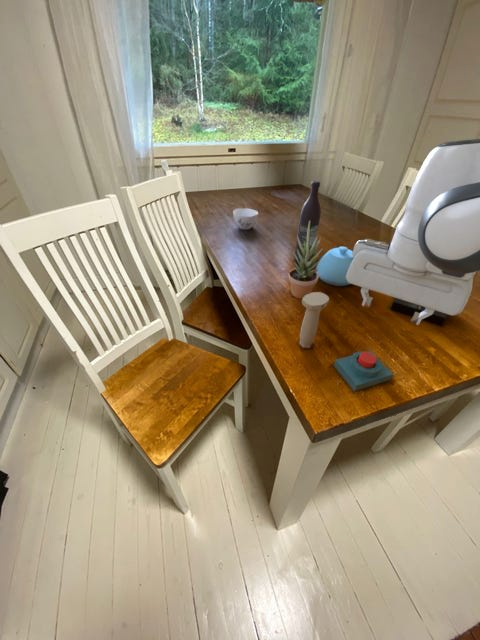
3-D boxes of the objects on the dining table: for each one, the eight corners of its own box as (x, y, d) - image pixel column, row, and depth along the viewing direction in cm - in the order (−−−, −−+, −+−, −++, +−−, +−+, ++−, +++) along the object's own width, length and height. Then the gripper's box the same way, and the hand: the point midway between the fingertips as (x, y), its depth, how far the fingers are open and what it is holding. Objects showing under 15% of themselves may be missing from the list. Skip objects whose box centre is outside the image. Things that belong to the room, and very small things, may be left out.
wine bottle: (291, 265, 108) (303, 182, 89) (296, 257, 113) (308, 178, 94) (308, 268, 106) (324, 184, 87) (312, 261, 111) (328, 180, 92)
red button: (366, 355, 65) (369, 350, 64) (377, 366, 62) (379, 361, 61) (354, 359, 64) (356, 353, 63) (364, 370, 61) (366, 365, 60)
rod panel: (444, 308, 86) (449, 300, 84) (441, 326, 79) (446, 317, 77) (397, 293, 93) (400, 286, 91) (390, 309, 86) (393, 301, 84)
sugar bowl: (330, 264, 109) (336, 235, 102) (364, 278, 100) (374, 248, 93) (307, 276, 101) (312, 246, 94) (342, 292, 93) (351, 262, 85)
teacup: (253, 233, 133) (254, 217, 128) (229, 230, 136) (229, 214, 131) (261, 223, 145) (262, 207, 140) (239, 220, 148) (239, 205, 142)
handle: (320, 345, 72) (333, 299, 63) (302, 355, 70) (313, 308, 60) (307, 335, 76) (318, 289, 66) (290, 344, 73) (298, 297, 63)
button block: (367, 356, 70) (372, 345, 67) (390, 380, 64) (396, 368, 61) (333, 365, 67) (337, 354, 64) (354, 391, 61) (359, 380, 59)
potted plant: (291, 283, 97) (302, 212, 82) (317, 290, 94) (334, 217, 78) (281, 297, 90) (291, 222, 75) (309, 305, 87) (325, 228, 71)
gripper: (351, 241, 50) (334, 303, 58) (488, 274, 40) (444, 342, 49) (362, 231, 54) (344, 290, 62) (489, 259, 44) (447, 324, 53)
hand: (389, 313), depth 56 cm, fingers open, 8 cm apart
